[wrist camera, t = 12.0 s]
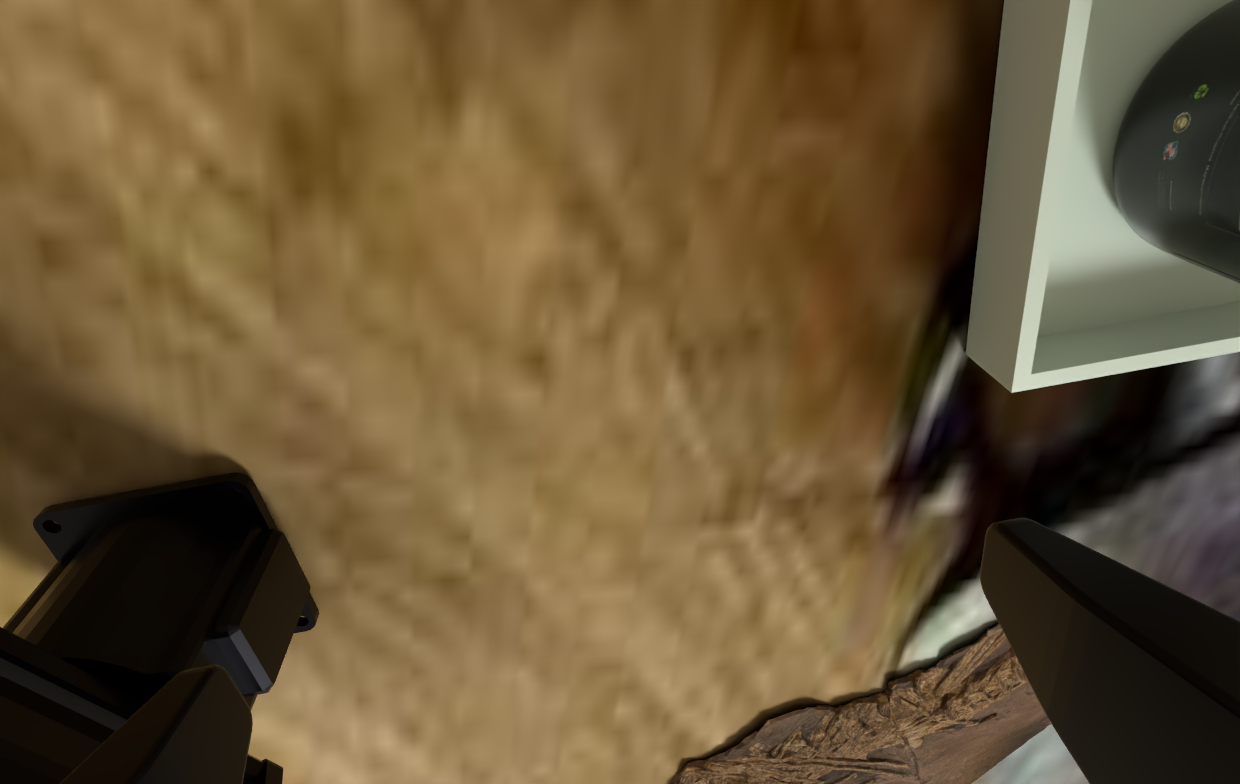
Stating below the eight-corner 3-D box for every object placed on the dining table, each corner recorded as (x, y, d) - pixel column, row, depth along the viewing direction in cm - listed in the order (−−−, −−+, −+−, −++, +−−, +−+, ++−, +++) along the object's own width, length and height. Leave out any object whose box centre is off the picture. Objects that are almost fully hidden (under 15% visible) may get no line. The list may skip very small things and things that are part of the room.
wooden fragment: (1100, 568, 28) (1118, 588, 27) (1133, 715, 34) (1149, 735, 33) (540, 801, 32) (540, 825, 31) (648, 899, 38) (651, 922, 37)
